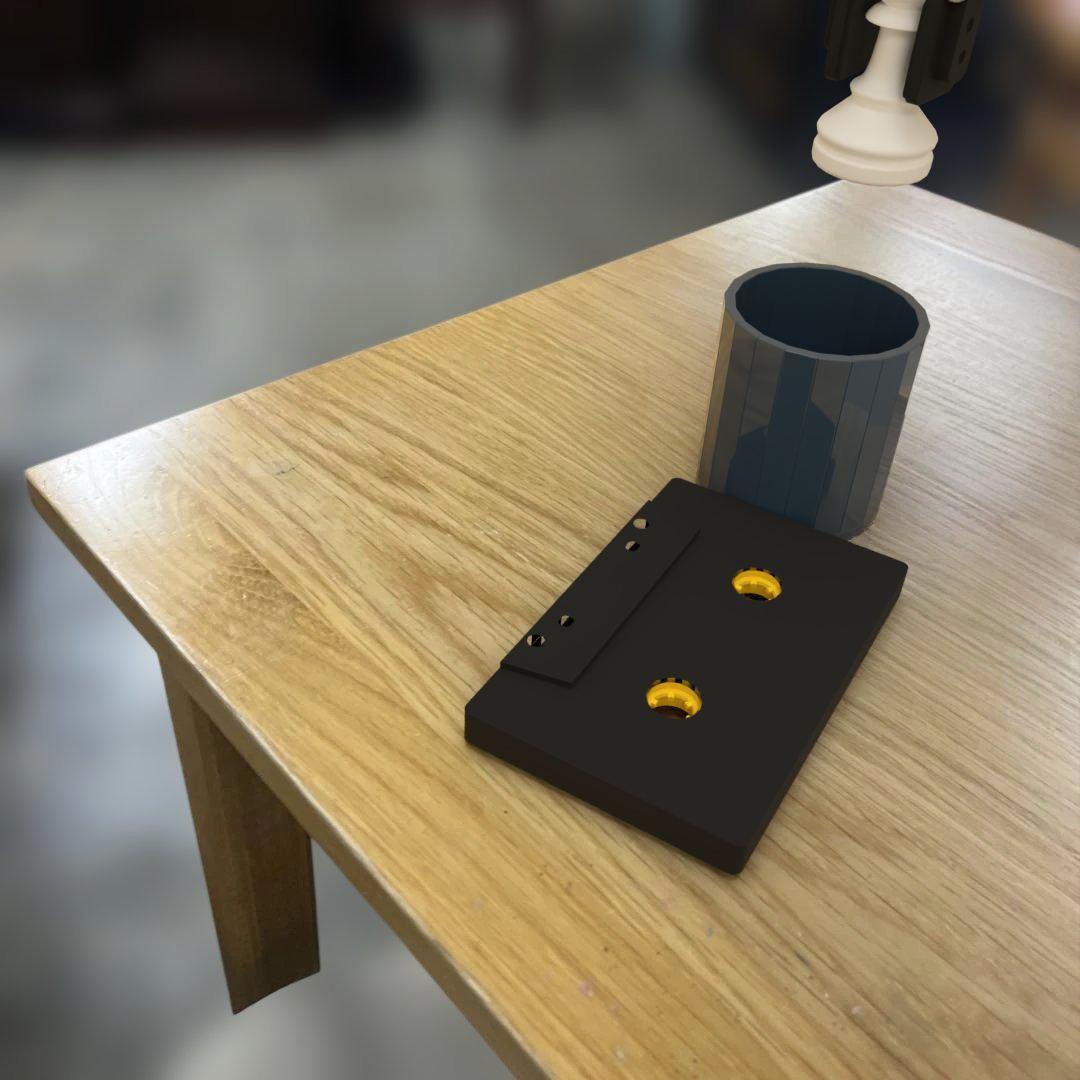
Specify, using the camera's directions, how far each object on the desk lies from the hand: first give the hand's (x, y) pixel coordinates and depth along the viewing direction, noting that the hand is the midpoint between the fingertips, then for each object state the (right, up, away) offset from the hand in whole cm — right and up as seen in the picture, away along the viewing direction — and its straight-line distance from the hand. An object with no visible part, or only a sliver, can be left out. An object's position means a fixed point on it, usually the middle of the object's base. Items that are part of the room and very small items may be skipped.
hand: (888, 80), depth 50 cm
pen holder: (-2, -16, +11) cm, 20 cm away
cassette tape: (-8, -24, +1) cm, 25 cm away
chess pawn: (0, -3, +2) cm, 4 cm away
